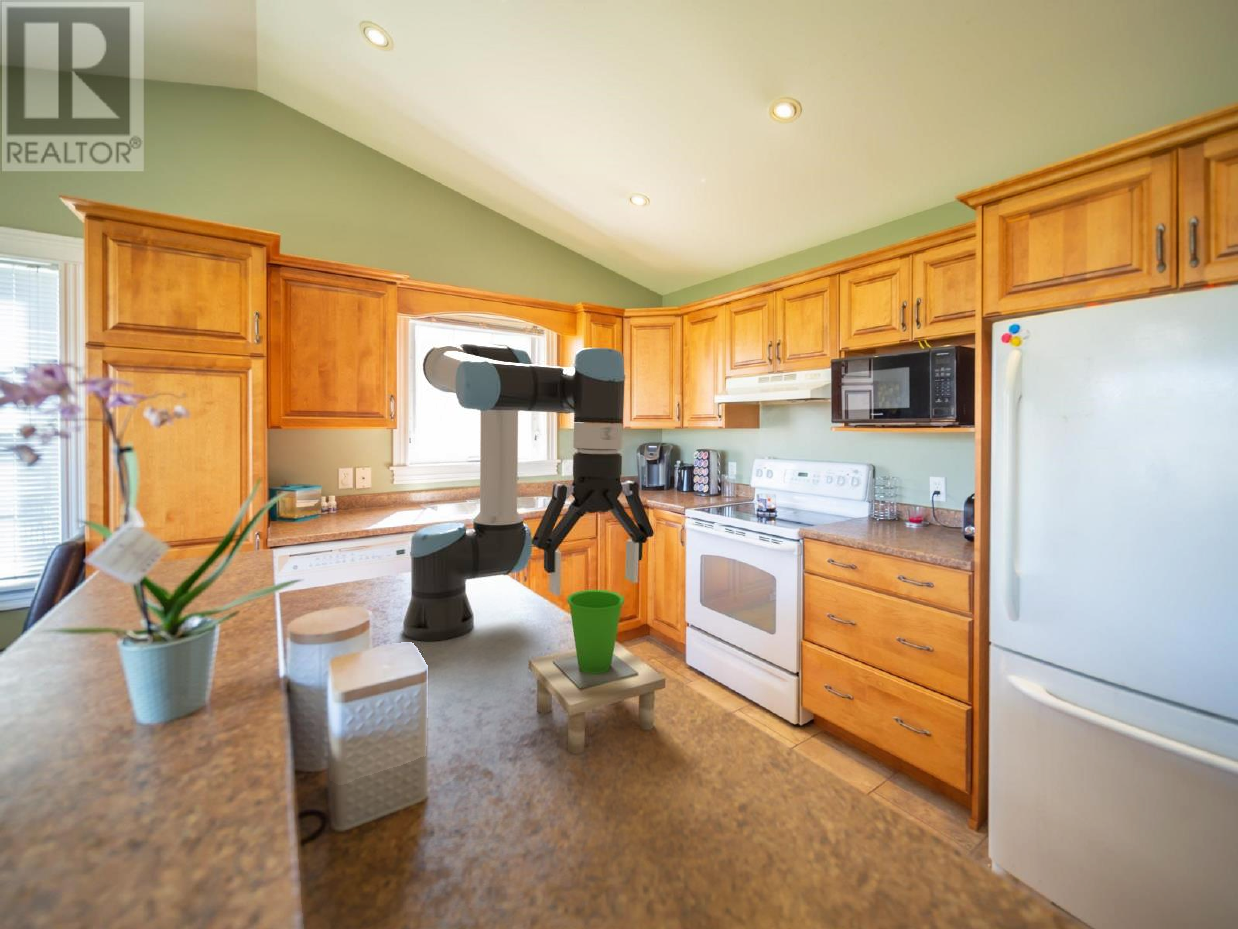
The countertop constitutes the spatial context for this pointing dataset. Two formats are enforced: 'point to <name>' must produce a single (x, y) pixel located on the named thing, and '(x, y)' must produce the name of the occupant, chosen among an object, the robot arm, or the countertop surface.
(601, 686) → the stool
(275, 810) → the countertop surface
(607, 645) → the cup
